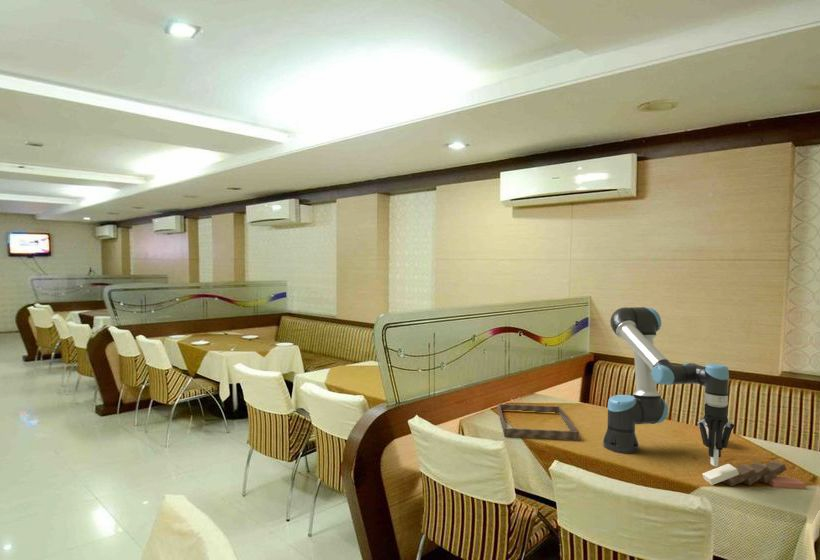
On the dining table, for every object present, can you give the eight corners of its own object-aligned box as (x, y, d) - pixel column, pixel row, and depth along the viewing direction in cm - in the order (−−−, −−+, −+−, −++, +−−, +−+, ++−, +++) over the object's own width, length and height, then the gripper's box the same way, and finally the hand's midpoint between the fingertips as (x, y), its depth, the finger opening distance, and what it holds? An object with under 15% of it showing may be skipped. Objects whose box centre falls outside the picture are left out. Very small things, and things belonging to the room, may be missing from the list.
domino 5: (773, 481, 180) (804, 483, 179) (765, 476, 185) (795, 477, 184) (773, 488, 180) (804, 489, 179) (765, 482, 185) (795, 483, 184)
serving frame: (504, 436, 230) (504, 428, 229) (497, 410, 271) (497, 403, 271) (578, 440, 226) (578, 432, 226) (560, 413, 268) (560, 406, 267)
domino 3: (747, 479, 180) (767, 465, 182) (735, 475, 184) (755, 461, 187) (749, 485, 180) (769, 471, 183) (737, 480, 185) (757, 467, 187)
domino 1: (710, 479, 180) (737, 468, 180) (702, 473, 185) (728, 463, 185) (712, 485, 181) (739, 474, 180) (704, 479, 186) (730, 469, 185)
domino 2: (729, 480, 179) (754, 468, 180) (719, 475, 184) (743, 463, 185) (731, 486, 179) (756, 474, 181) (721, 480, 184) (745, 469, 185)
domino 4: (763, 477, 181) (784, 463, 183) (751, 473, 186) (772, 460, 188) (766, 482, 181) (786, 469, 183) (754, 478, 186) (774, 465, 188)
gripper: (703, 406, 179) (701, 468, 179) (739, 408, 177) (737, 470, 178) (693, 401, 186) (691, 460, 187) (728, 402, 185) (726, 462, 186)
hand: (714, 464), depth 182 cm, fingers closed
